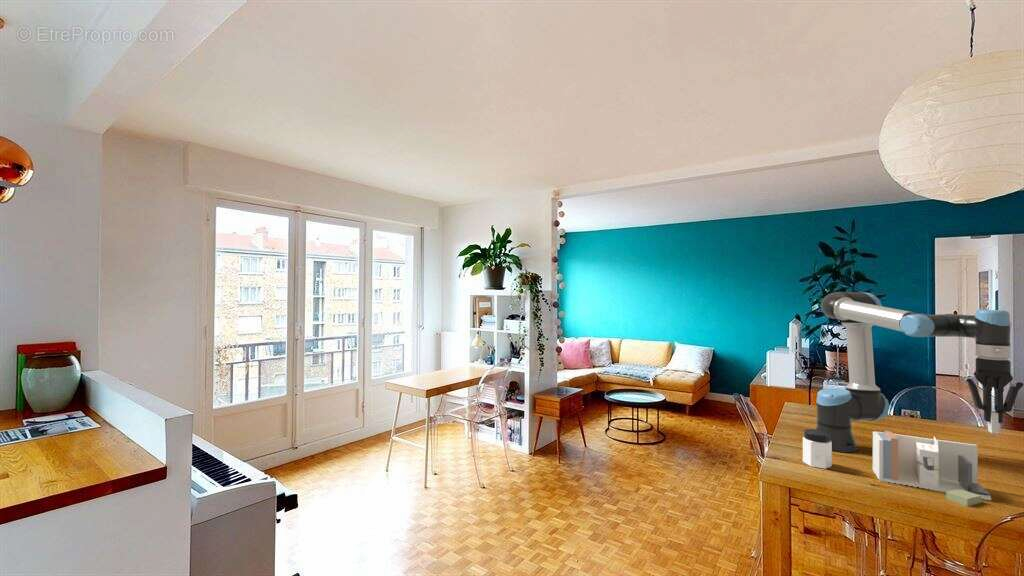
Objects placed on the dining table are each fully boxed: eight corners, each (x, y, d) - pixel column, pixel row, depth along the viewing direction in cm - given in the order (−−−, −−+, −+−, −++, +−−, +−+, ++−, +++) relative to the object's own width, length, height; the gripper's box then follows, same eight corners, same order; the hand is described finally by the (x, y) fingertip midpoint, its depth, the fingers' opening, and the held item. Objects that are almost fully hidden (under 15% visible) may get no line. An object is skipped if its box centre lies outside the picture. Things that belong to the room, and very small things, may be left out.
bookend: (967, 491, 139) (967, 463, 139) (958, 481, 146) (958, 455, 146) (989, 495, 136) (989, 466, 136) (979, 485, 143) (979, 458, 143)
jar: (803, 465, 162) (803, 433, 162) (801, 458, 169) (801, 427, 169) (833, 470, 158) (833, 437, 158) (830, 462, 165) (830, 431, 165)
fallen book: (967, 507, 132) (967, 499, 132) (946, 499, 137) (946, 491, 137) (980, 503, 134) (980, 495, 134) (959, 496, 139) (959, 488, 139)
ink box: (915, 475, 152) (915, 432, 152) (935, 479, 149) (935, 435, 149) (918, 483, 145) (918, 439, 145) (939, 488, 142) (939, 442, 142)
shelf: (879, 480, 149) (879, 437, 149) (872, 469, 159) (872, 428, 159) (991, 500, 136) (991, 452, 136) (976, 486, 145) (976, 441, 145)
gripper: (968, 358, 139) (969, 432, 139) (1028, 361, 132) (1029, 439, 132) (960, 355, 145) (960, 426, 145) (1016, 358, 139) (1017, 432, 139)
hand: (993, 432), depth 139 cm, fingers closed
